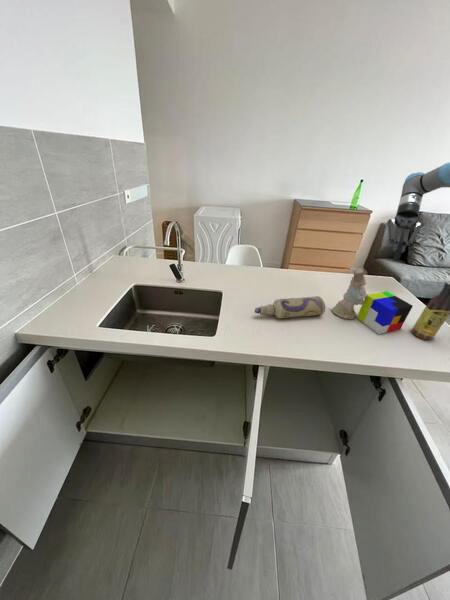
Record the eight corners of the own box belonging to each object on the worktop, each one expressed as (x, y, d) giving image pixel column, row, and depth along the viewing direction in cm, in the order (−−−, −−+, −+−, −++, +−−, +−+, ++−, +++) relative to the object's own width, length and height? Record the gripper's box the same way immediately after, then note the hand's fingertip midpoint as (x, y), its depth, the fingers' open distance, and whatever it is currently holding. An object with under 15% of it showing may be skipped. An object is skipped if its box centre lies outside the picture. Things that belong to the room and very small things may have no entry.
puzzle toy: (378, 334, 83) (390, 310, 78) (356, 317, 91) (366, 294, 86) (400, 329, 86) (412, 305, 81) (376, 313, 94) (387, 291, 89)
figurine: (338, 320, 89) (356, 270, 78) (328, 307, 96) (343, 260, 85) (361, 320, 89) (382, 271, 79) (350, 307, 96) (367, 260, 86)
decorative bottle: (313, 307, 96) (317, 292, 92) (323, 318, 89) (328, 303, 86) (250, 311, 91) (252, 296, 87) (256, 323, 85) (258, 307, 81)
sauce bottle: (418, 340, 81) (450, 288, 71) (407, 328, 86) (435, 278, 76) (437, 341, 81) (472, 289, 71) (425, 329, 86) (456, 280, 76)
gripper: (393, 200, 99) (381, 251, 95) (431, 204, 95) (420, 258, 91) (387, 212, 106) (375, 259, 102) (422, 216, 102) (411, 266, 97)
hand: (396, 259), depth 96 cm, fingers closed
